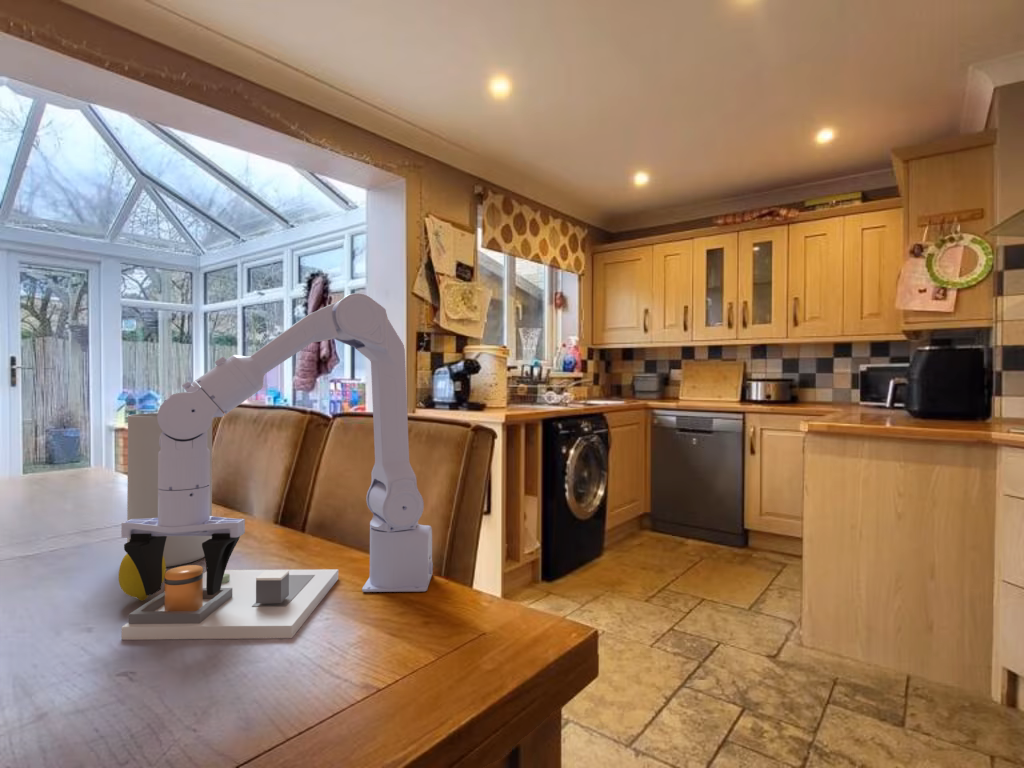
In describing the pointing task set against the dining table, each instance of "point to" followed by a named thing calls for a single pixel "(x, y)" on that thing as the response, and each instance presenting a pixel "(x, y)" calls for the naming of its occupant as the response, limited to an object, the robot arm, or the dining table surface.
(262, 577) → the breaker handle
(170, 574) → the cap
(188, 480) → the robot arm
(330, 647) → the dining table surface
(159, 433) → the cylinder vase
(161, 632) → the board
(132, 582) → the lemon
